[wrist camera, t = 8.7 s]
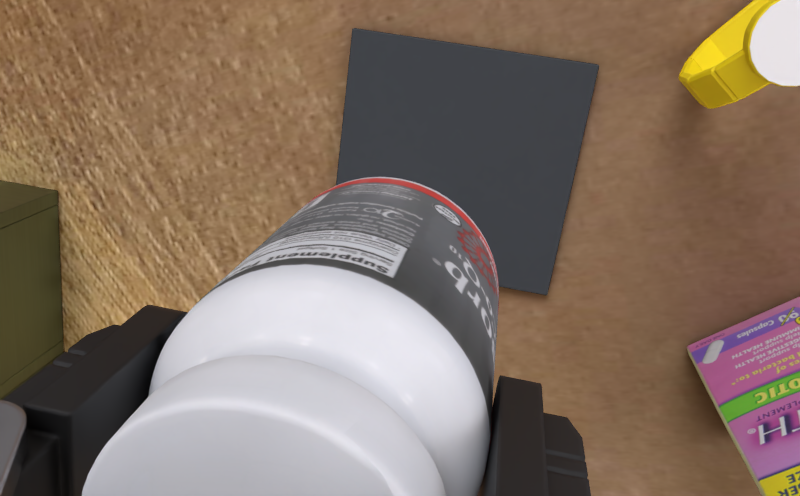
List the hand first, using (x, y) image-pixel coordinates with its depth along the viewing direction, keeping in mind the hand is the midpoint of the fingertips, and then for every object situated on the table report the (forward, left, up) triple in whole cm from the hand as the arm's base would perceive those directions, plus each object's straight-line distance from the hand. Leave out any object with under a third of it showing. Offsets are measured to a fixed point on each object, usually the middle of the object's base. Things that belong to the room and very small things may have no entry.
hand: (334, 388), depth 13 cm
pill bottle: (0, 0, -6) cm, 6 cm away
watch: (-7, +11, -19) cm, 23 cm away
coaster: (0, +1, -19) cm, 19 cm away
